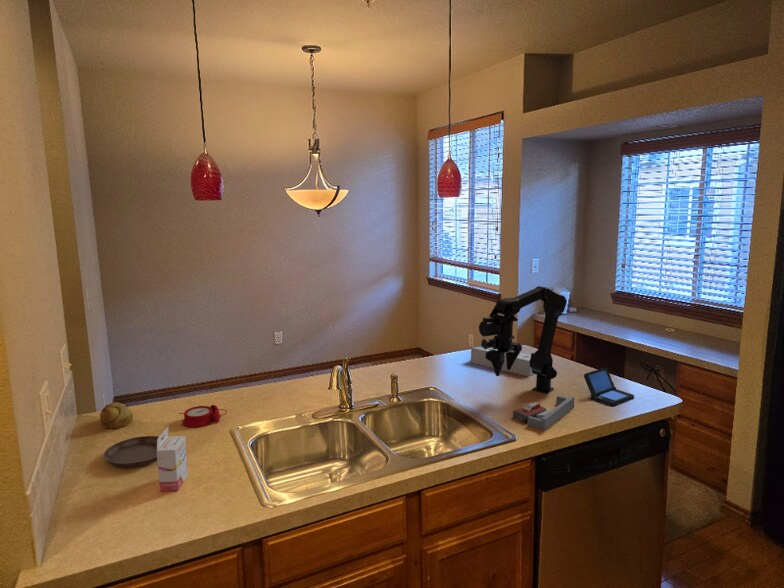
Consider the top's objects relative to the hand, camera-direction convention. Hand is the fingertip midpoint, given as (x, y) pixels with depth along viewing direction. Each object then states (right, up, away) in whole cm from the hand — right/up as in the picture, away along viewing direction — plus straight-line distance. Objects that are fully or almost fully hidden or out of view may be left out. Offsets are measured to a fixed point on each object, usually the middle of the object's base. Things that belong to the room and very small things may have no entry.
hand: (503, 372), depth 194 cm
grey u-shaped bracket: (+15, -13, -13) cm, 23 cm away
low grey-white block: (+11, -4, +42) cm, 44 cm away
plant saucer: (-118, -19, -42) cm, 127 cm away
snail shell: (-137, -15, -19) cm, 139 cm away
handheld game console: (+42, -11, +5) cm, 44 cm away
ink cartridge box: (-101, -22, -55) cm, 118 cm away
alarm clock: (-108, -15, -16) cm, 110 cm away
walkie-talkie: (+10, -14, -12) cm, 21 cm away
